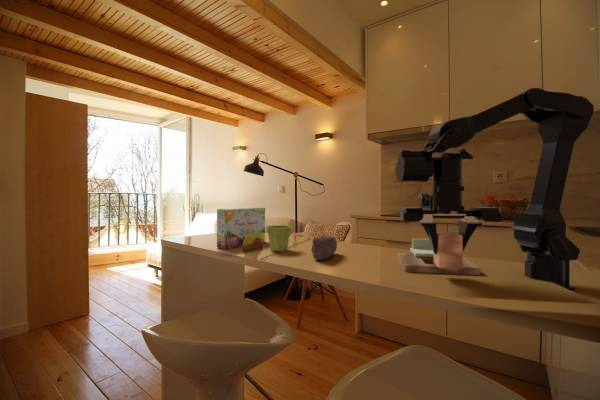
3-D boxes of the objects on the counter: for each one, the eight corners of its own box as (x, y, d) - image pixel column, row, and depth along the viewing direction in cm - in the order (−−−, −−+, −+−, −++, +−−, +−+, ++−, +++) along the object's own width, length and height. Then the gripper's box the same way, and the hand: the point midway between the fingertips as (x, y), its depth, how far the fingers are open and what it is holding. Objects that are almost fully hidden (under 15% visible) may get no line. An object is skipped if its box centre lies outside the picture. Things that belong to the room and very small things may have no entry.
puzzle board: (458, 265, 77) (458, 254, 77) (480, 281, 63) (480, 268, 63) (397, 263, 80) (397, 253, 80) (405, 277, 67) (405, 265, 67)
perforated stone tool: (328, 252, 97) (328, 232, 97) (342, 254, 95) (342, 233, 95) (307, 261, 85) (306, 238, 84) (322, 263, 82) (322, 239, 82)
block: (455, 263, 63) (455, 232, 63) (462, 268, 58) (462, 235, 58) (433, 262, 64) (433, 231, 64) (439, 267, 59) (438, 234, 59)
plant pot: (282, 246, 109) (281, 224, 109) (297, 250, 102) (297, 226, 101) (261, 250, 103) (260, 226, 103) (276, 254, 96) (275, 228, 95)
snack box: (225, 249, 105) (225, 209, 104) (216, 248, 108) (215, 208, 108) (266, 241, 121) (265, 206, 121) (256, 240, 125) (256, 206, 125)
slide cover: (440, 251, 81) (439, 239, 81) (448, 257, 73) (448, 243, 73) (410, 250, 82) (410, 238, 82) (415, 256, 75) (415, 243, 75)
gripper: (479, 182, 67) (479, 248, 67) (396, 184, 71) (397, 246, 71) (503, 180, 56) (503, 258, 56) (403, 182, 60) (404, 255, 60)
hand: (447, 254), depth 61 cm, fingers closed on block, 4 cm apart
